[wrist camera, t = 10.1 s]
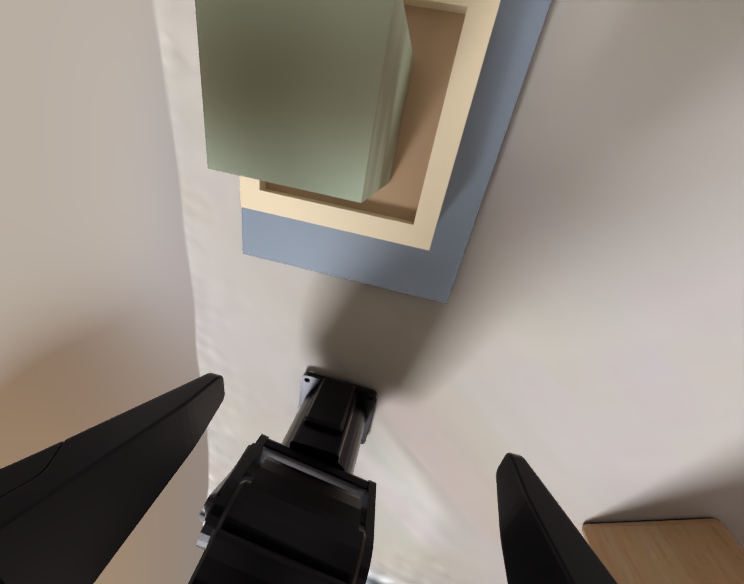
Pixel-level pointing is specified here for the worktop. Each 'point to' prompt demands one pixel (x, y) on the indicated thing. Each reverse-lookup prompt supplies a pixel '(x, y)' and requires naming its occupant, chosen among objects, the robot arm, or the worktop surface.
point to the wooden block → (668, 551)
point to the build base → (457, 195)
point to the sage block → (305, 91)
